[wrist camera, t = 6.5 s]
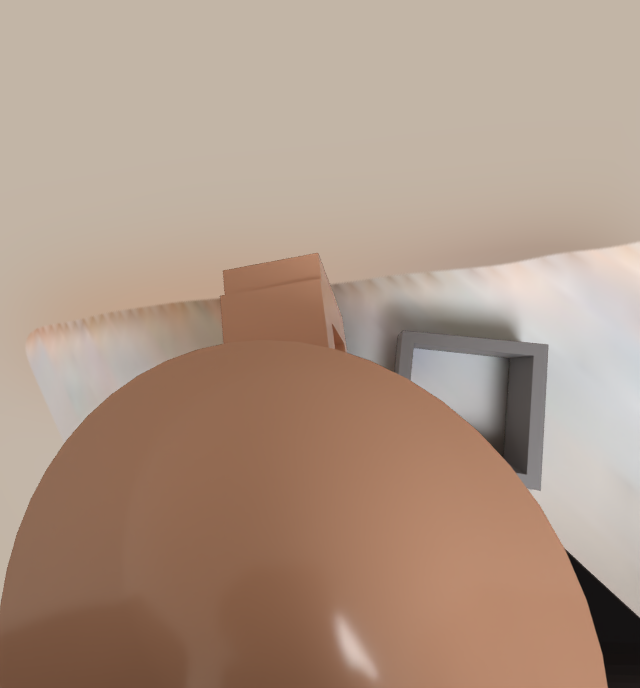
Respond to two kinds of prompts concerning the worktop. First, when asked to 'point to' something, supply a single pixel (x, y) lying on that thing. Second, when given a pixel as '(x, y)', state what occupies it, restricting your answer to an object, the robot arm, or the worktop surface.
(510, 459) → the holder
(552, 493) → the worktop surface
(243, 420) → the peach rounded cylinder
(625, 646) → the robot arm
